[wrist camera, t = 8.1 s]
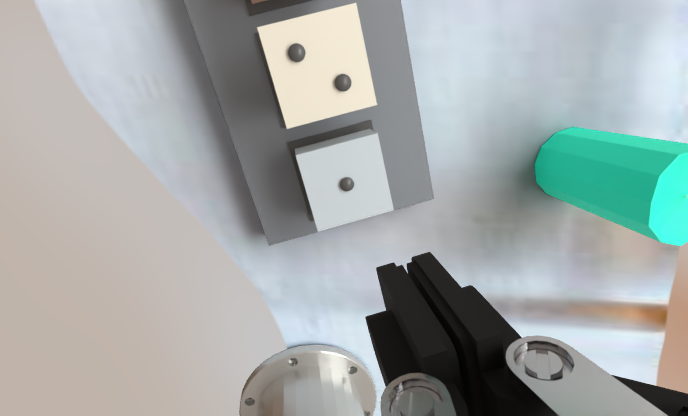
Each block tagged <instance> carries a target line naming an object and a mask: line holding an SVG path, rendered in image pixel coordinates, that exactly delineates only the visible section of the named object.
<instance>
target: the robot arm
mask: <svg viewBox="0 0 688 416" xmlns="http://www.w3.org/2000/svg"><path fill="white" fill-rule="evenodd" d="M376 269H377V274H378V279H379V283H380V287H381V291H382V295H383V299H384V303H385V307H386V311H383V312H380V313H376V314H373V315H370V316H366V322H367V326H368V329H369V333H370V337H371V341H372V344H373V348H374V351H375V354H376V358H377V361H378V364H379V367H380V370H381V373H382V376H383V379H384V383H385V386H386V388H385V390H384V392H383V394H382V396H381V415H382V416H688V394H686V393H682V392H678V391H674V390H670V389H666V388H662V387H658V386H654V385H650V384H646V383H642V382H638V381H634V380H630V379H626V378H622V377H618V376H614V375H610V374H609V373H607V372H606V371H604V370H603V369H602V368H600V367H599V366H597V365H596V364H595V363H593V362H592V361H590V360H589V359H588V358H586V357H585V356H583V355H582V354H581V353H579V352H578V351H576V350H575V349H574V348H572V347H571V346H569V345H567V344H565V343H564V342H562V341H560V340H557V339H554V338H550V337H544V336H527V337H524V338H522V337H521V336H520V335H519V334H518V333H517V332H516V331H515V330H514V329H513V328H512V327H511V326H510V325H509V324H508V323H507V322H506V320H505V319H504V318H503V317H502V316H501V315H500V314H499V313H498V312H497V311H496V310H495V309H494V308H493V307H492V306H491V305H490V303H489V302H488V301H487V300H486V299H485V298H484V297H483V296H482V295H481V294H480V293H479V292H478V291H477V290H476V289H475V288H474V287H473V286H470V285H469V286H466V287H463V288H461V287H460V286H459V284H458V283H457V282H456V281H455V280H454V279H453V278H452V276H451V275H450V274H449V273H448V272H447V271H446V270H445V268H444V267H443V266H442V265H441V264H440V263H439V262H438V260H437V259H436V258H435V257H434V256H433V255H432V254H431V253H430V252H428V253H424V254H421V255H417V256H414V257H412V262H411V263H407V270H408V273H407V272H406V270H405V269H404V267H403V266H402V265H400V266H396V265H395V263H390V264H387V265H383V266H380V267H377V268H376ZM375 407H376V390H375V385H374V382H373V379H372V376H371V374H370V372H369V371H368V369H367V367H366V366H365V365H364V364H363V363H362V362H361V361H360V360H359V359H358V358H357V357H355V356H354V355H352V354H351V353H349V352H347V351H344V350H342V349H340V348H336V347H332V346H327V345H304V346H298V347H294V348H290V349H287V350H284V351H282V352H280V353H277V354H275V355H273V356H272V357H270V358H269V359H267V360H266V361H264V362H263V363H262V364H261V365H260V366H259V367H257V368H256V369H255V370H254V371H253V373H252V374H251V376H250V377H249V378H248V380H247V382H246V384H245V386H244V388H243V391H242V396H241V401H240V416H373V413H374V410H375Z"/></svg>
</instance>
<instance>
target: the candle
mask: <svg viewBox="0 0 688 416" xmlns="http://www.w3.org/2000/svg"><path fill="white" fill-rule="evenodd" d="M534 168H535V176H536V182H537V184H538V185H539V186H540V187H541V188H542V189H543V191H544V192H545V193H546V194H548V195H551V196H553V197H555V198H558V199H560V200H562V201H565V202H567V203H570V204H572V205H574V206H577V207H579V208H581V209H584V210H586V211H588V212H591V213H593V214H596V215H598V216H600V217H603V218H605V219H607V220H610V221H612V222H614V223H617V224H619V225H622V226H624V227H626V228H629V229H631V230H633V231H636V232H638V233H640V234H643V235H645V236H648V237H650V238H652V239H655V240H657V241H659V242H662V243H667V244H673V245H678V246H681V245H683V244H685V243H686V242H688V144H686V143H679V142H672V141H666V140H659V139H652V138H645V137H638V136H632V135H625V134H618V133H611V132H605V131H598V130H591V129H584V128H577V127H571V128H568V129H565V130H562V131H559V132H556V133H555V134H554V135H553V136H552V137H551V138H550V139H549V140H548V141H547V142H546V143H545V144H543V145H542V146H541V149H540V151H539V154H538V156H537V159H536V162H535V164H534Z"/></svg>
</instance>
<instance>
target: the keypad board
mask: <svg viewBox="0 0 688 416" xmlns="http://www.w3.org/2000/svg"><path fill="white" fill-rule="evenodd" d="M183 1H184V3H185V6H186V9H187V12H188V15H189V18H190V21H191V23H192V26H193V29H194V32H195V35H196V38H197V41H198V44H199V46H200V49H201V52H202V55H203V58H204V61H205V64H206V67H207V69H208V72H209V75H210V78H211V81H212V84H213V87H214V89H215V92H216V95H217V98H218V101H219V104H220V107H221V110H222V112H223V115H224V118H225V121H226V124H227V127H228V130H229V133H230V135H231V138H232V141H233V144H234V147H235V150H236V153H237V155H238V158H239V161H240V164H241V167H242V170H243V173H244V176H245V178H246V181H247V184H248V187H249V190H250V193H251V196H252V199H253V201H254V204H255V207H256V210H257V213H258V216H259V219H260V221H261V224H262V227H263V230H264V233H265V236H266V239H267V242H268V244H269V245H273V244H276V243H280V242H283V241H287V240H290V239H294V238H297V237H301V236H305V235H308V234H312V233H315V232H318V230H317V227H316V223H315V220H314V217H313V213H312V210H311V206H310V203H309V200H308V196H307V193H306V189H305V186H304V183H303V179H302V176H301V172H300V169H299V165H298V162H297V159H296V155H295V149H296V148H300V147H304V146H307V145H311V144H315V143H319V142H322V141H326V140H330V139H333V138H337V137H341V136H345V135H348V134H352V133H356V132H359V131H363V130H367V129H371V130H373V131H375V132H377V133H378V137H379V142H380V147H381V151H382V156H383V161H384V166H385V170H386V175H387V180H388V185H389V189H390V194H391V199H392V204H393V208H394V210H396V209H400V208H403V207H407V206H410V205H414V204H417V203H421V202H424V201H428V200H432V199H434V196H433V190H432V184H431V178H430V172H429V166H428V160H427V154H426V148H425V142H424V136H423V131H422V125H421V119H420V113H419V107H418V101H417V95H416V89H415V83H414V77H413V71H412V65H411V59H410V53H409V47H408V41H407V35H406V29H405V23H404V17H403V11H402V5H401V0H267V1H263V2H259V3H254V4H252V1H251V0H183ZM353 3H356V4H357V9H358V14H359V19H360V24H361V29H362V33H363V38H364V43H365V48H366V53H367V58H368V63H369V68H370V72H371V77H372V82H373V87H374V92H375V97H376V102H377V105H375V106H371V107H367V108H364V109H360V110H356V111H352V112H349V113H345V114H341V115H337V116H334V117H330V118H326V119H322V120H319V121H315V122H311V123H307V124H304V125H300V126H296V127H292V128H289V129H287V128H286V124H285V121H284V117H283V114H282V111H281V107H280V104H279V100H278V97H277V94H276V90H275V87H274V83H273V80H272V76H271V73H270V70H269V66H268V63H267V59H266V56H265V53H264V49H263V46H262V42H261V39H260V36H259V32H258V29H257V27H261V26H265V25H269V24H273V23H277V22H281V21H285V20H289V19H293V18H297V17H301V16H305V15H309V14H313V13H317V12H321V11H325V10H329V9H333V8H337V7H341V6H345V5H349V4H353Z"/></svg>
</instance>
